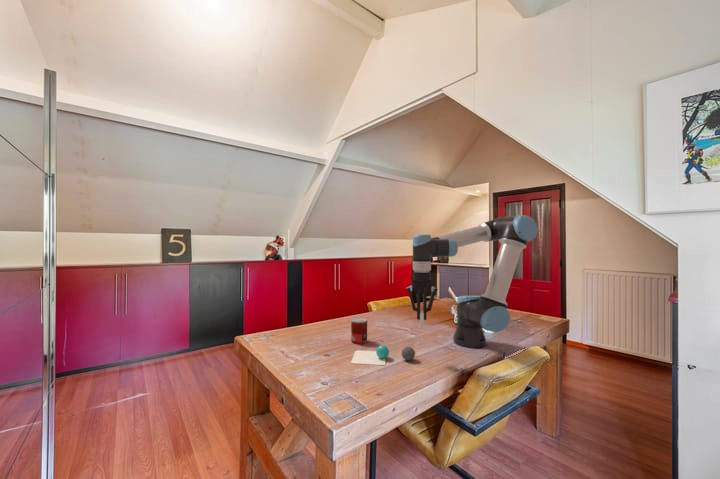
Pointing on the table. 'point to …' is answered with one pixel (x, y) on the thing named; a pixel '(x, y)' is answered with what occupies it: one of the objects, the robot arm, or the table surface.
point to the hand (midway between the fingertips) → (421, 327)
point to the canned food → (359, 330)
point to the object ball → (382, 352)
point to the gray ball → (408, 353)
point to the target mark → (367, 358)
